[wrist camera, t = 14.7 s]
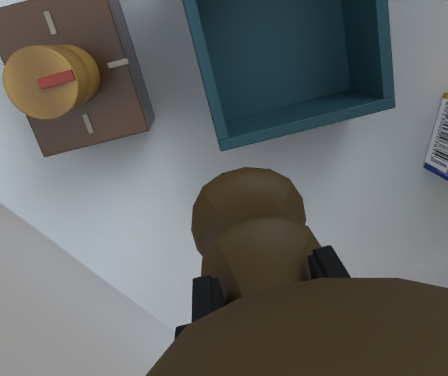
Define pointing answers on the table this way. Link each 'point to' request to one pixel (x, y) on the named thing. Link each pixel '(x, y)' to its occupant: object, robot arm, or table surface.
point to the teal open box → (290, 64)
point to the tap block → (104, 58)
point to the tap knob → (50, 79)
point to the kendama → (296, 298)
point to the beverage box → (439, 143)
